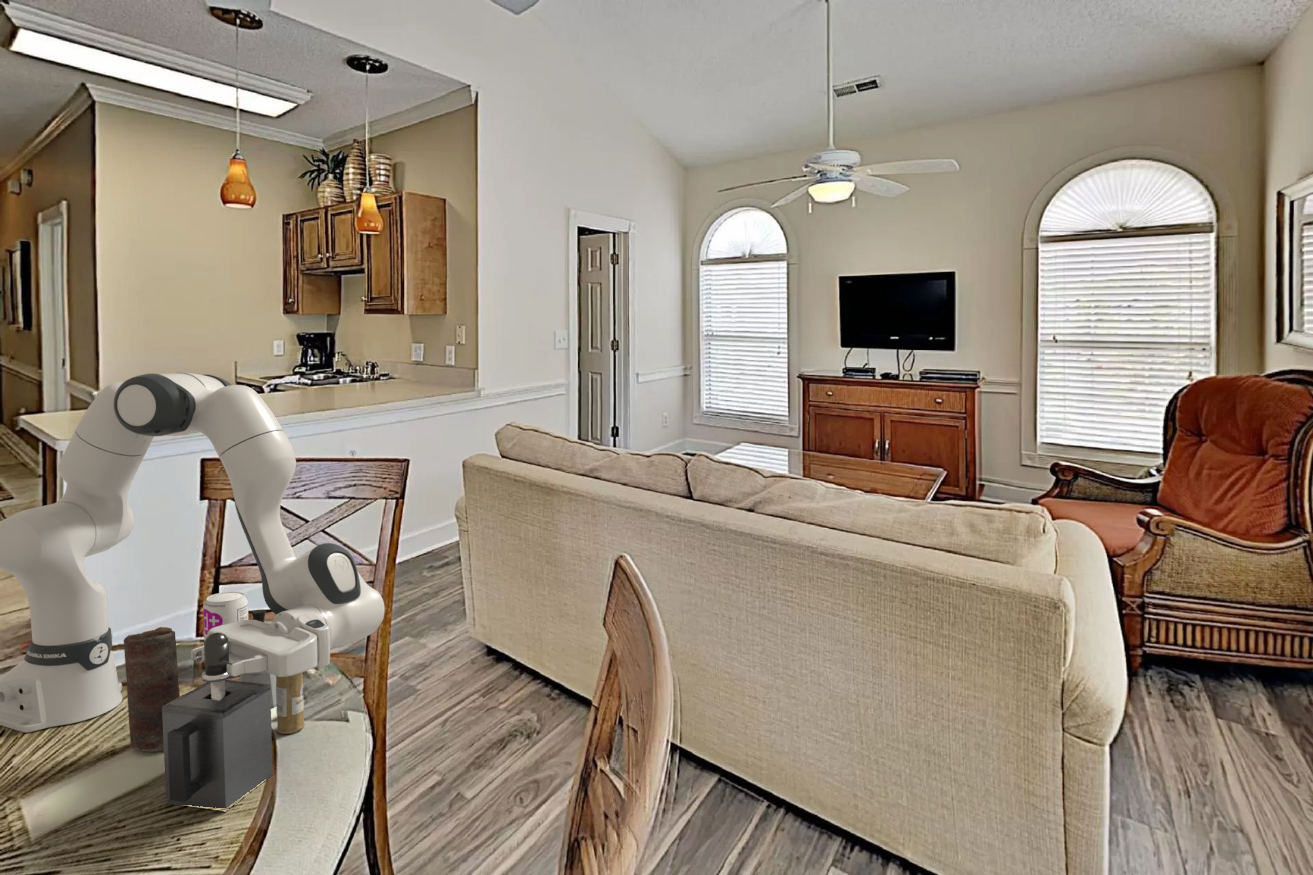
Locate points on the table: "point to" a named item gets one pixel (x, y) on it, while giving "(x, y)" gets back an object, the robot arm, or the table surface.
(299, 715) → the sprinkles bottle
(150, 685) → the candle
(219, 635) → the eye dropper
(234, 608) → the supplement can
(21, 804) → the table surface
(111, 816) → the table surface
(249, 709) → the press body
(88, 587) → the robot arm
